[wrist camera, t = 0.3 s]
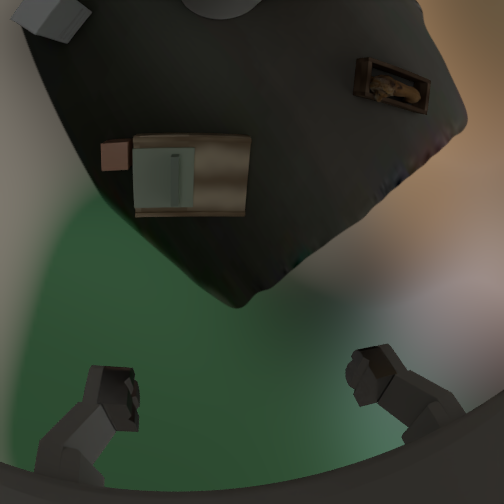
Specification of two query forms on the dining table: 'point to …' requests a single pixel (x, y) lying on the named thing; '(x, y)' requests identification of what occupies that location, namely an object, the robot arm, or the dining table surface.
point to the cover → (163, 177)
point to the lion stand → (420, 82)
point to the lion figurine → (392, 89)
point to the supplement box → (52, 18)
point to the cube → (117, 154)
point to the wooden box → (207, 172)
